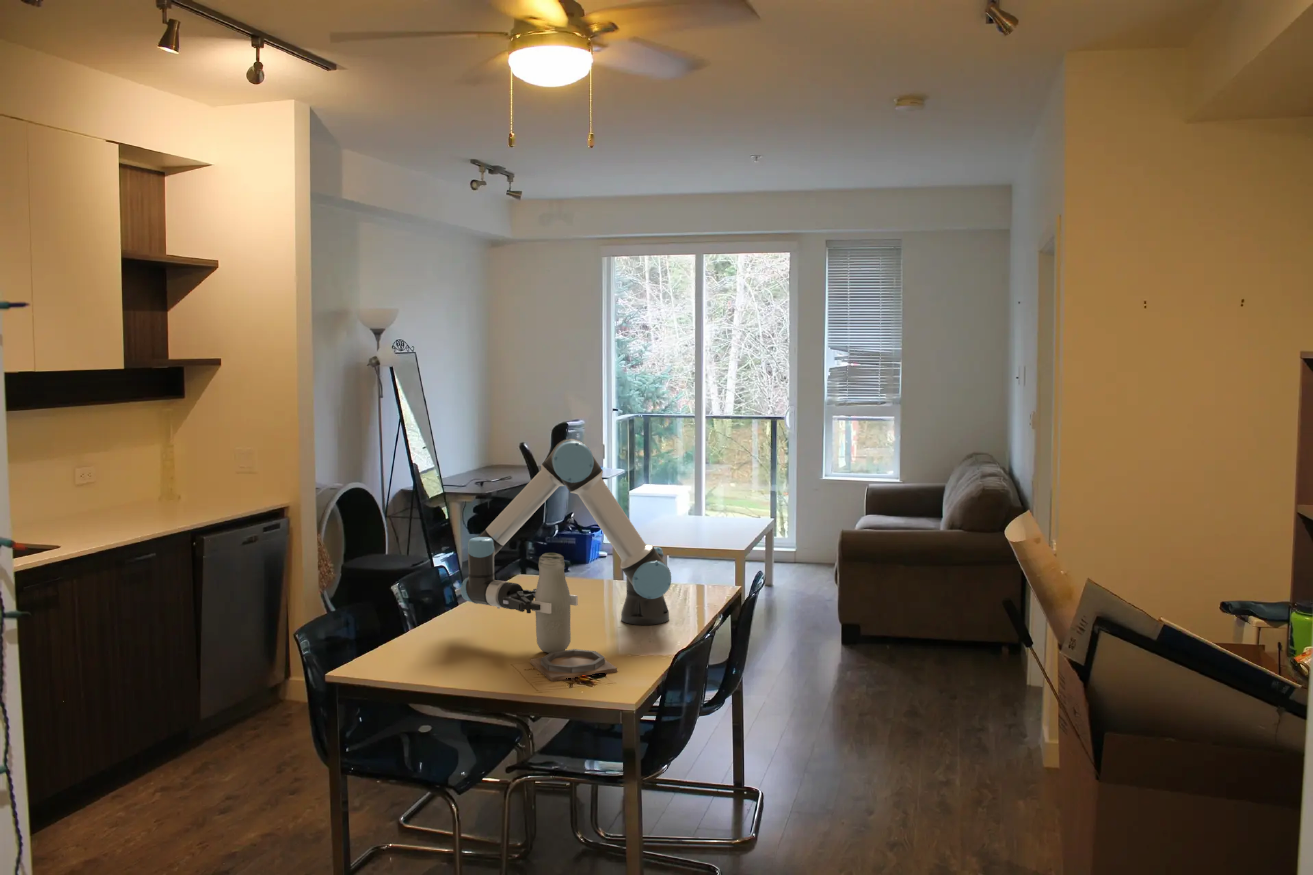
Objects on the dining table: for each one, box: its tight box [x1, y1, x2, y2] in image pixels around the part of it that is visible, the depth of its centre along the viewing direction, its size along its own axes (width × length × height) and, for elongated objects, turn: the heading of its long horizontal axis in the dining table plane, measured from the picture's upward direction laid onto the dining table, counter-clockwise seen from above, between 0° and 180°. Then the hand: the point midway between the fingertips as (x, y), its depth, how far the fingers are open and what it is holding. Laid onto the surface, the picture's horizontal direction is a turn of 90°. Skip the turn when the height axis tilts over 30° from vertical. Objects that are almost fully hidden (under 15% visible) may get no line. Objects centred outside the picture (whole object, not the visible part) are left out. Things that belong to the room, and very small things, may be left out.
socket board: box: [529, 648, 618, 682], centre depth 260 cm, size 18×18×2 cm
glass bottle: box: [534, 552, 572, 654], centre depth 274 cm, size 10×10×28 cm
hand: (563, 604), depth 271 cm, fingers closed on glass bottle, 10 cm apart
